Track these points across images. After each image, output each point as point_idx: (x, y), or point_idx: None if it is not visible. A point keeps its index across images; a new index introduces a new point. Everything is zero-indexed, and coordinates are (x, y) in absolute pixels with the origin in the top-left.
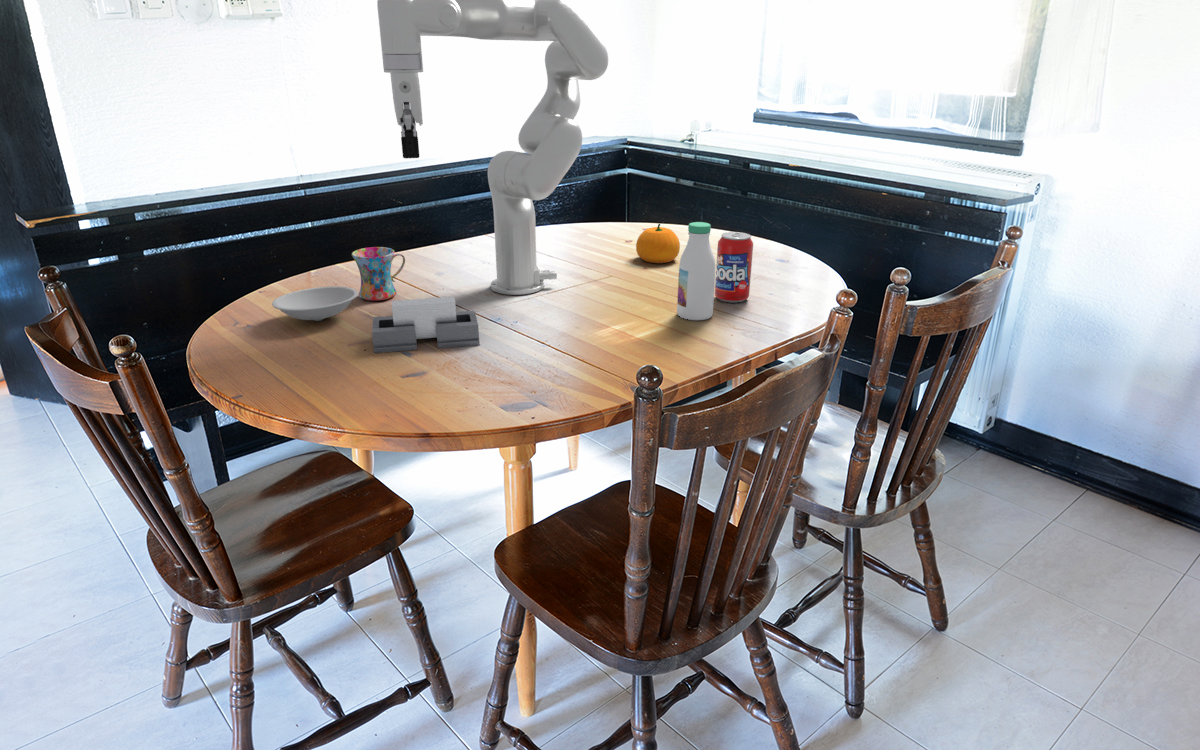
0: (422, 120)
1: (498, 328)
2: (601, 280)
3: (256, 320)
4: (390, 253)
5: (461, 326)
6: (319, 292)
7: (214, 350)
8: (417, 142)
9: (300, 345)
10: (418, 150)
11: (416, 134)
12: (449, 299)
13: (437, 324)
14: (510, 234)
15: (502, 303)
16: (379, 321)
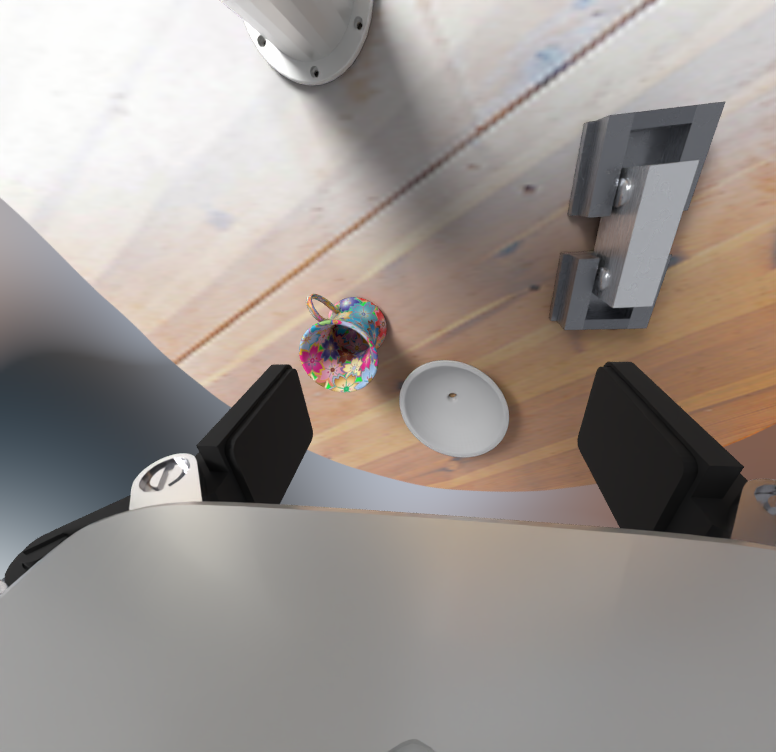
0: (641, 585)
1: (609, 57)
2: None
3: (437, 454)
4: (323, 326)
5: (707, 149)
6: (409, 409)
7: (532, 479)
8: (697, 433)
9: (552, 406)
10: (655, 388)
11: (241, 433)
12: (669, 177)
13: None
14: None
15: (428, 47)
16: (584, 319)
